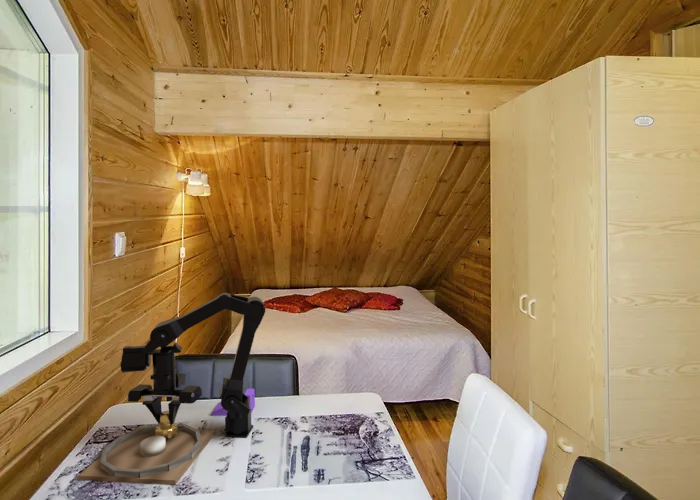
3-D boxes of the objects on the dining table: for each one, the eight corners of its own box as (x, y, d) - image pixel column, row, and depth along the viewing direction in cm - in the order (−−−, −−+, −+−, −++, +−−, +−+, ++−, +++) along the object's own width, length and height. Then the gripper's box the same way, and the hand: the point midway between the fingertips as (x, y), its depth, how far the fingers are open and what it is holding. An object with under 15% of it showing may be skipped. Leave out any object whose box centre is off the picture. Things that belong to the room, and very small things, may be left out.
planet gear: (181, 429, 123) (180, 409, 123) (171, 439, 118) (170, 418, 117) (162, 428, 124) (161, 408, 123) (151, 439, 118) (150, 417, 118)
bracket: (254, 407, 143) (254, 386, 143) (250, 416, 136) (250, 395, 136) (218, 407, 143) (217, 387, 142) (212, 416, 136) (211, 395, 136)
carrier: (215, 433, 125) (215, 421, 125) (175, 484, 101) (175, 470, 101) (135, 430, 127) (135, 418, 127) (78, 479, 103) (77, 465, 103)
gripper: (209, 359, 127) (210, 411, 128) (147, 358, 128) (149, 409, 129) (192, 373, 115) (193, 430, 117) (125, 371, 117) (127, 427, 118)
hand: (166, 423), depth 120 cm, fingers closed on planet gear, 3 cm apart
